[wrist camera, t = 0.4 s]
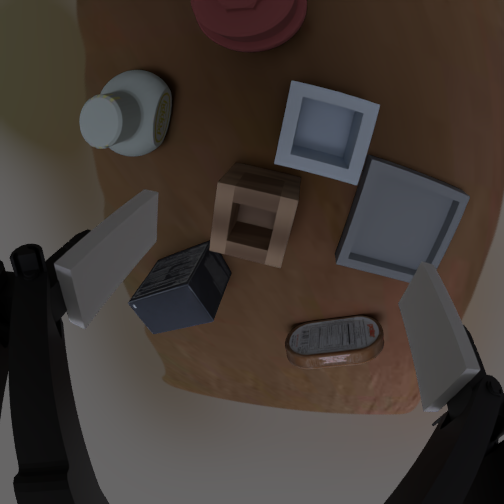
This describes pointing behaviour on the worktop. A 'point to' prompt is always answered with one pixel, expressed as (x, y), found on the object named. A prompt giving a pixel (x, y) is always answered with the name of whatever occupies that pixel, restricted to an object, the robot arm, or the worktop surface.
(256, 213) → the brown open cube box
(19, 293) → the robot arm
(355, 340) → the tin
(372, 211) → the tray
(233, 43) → the mechanical component
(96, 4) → the worktop surface
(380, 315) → the worktop surface
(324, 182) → the worktop surface
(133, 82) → the air freshener
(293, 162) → the block
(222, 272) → the small box
